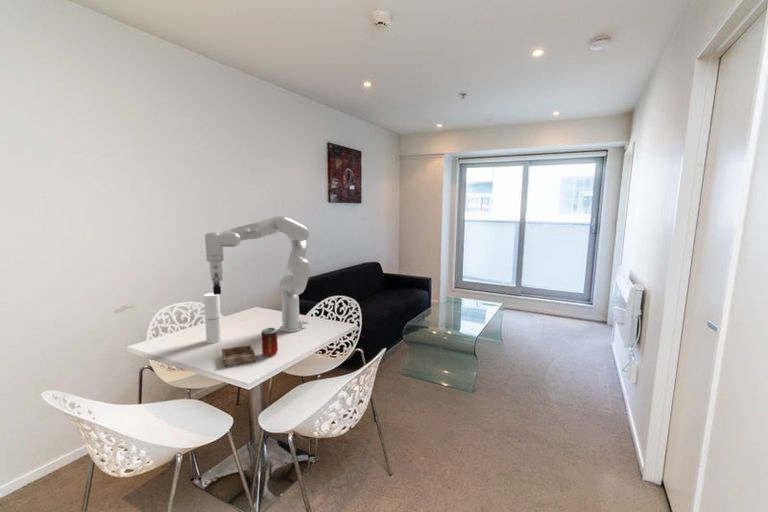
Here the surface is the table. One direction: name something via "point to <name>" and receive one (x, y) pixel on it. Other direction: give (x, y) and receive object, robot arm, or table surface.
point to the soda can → (269, 342)
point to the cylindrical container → (212, 318)
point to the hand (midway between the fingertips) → (217, 291)
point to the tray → (238, 355)
